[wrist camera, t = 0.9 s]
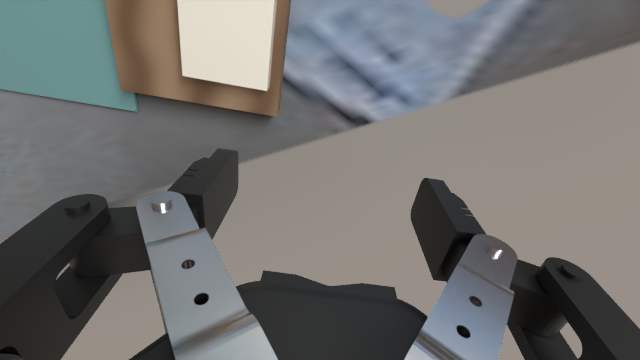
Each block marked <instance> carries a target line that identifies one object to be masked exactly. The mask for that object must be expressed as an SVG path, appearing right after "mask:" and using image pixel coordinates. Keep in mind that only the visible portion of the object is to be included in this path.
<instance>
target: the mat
mask: <svg viewBox="0 0 640 360" xmlns="http://www.w3.org/2000/svg"><path fill="white" fill-rule="evenodd" d="M0 89H3V90H9V91H15V92H21V93H27V94H33V95H39V96H45V97H51V98H57V99H63V100H69V101H75V102H81V103H87V104H93V105H99V106H105V107H111V108H118V109H124V110H130V111H136V112H137V111H138V104H137V98H136V93H135V92H129V91H123V90H121V88H120V83H119V77H118V71H117V66H116V60H115V55H114V49H113V44H112V38H111V33H110V27H109V22H108V16H107V11H106V5H105V0H0Z"/></svg>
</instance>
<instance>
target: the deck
mask: <svg viewBox="0 0 640 360" xmlns="http://www.w3.org/2000/svg"><path fill="white" fill-rule="evenodd" d="M290 4H291V0H277V5H276V17H275V28H274V40H273V52H272V64H271V76H270V87H269V89H268V90H267V91H264V90H258V89H253V88H247V87H241V86H236V85H230V84H225V83H219V82H214V81H208V80H202V79H197V78H191V77H186V76H182V62H181V48H180V33H179V19H178V4H177V0H105V5H106V11H107V16H108V22H109V27H110V33H111V38H112V44H113V49H114V55H115V60H116V66H117V71H118V77H119V83H120V88H121V90H123V91H129V92H135V93H141V94H147V95H153V96H158V97H164V98H170V99H176V100H182V101H188V102H193V103H199V104H205V105H211V106H217V107H223V108H228V109H234V110H240V111H246V112H252V113H258V114H263V115H269V116H275V117H277V114H278V112H279V108H280V98H281V89H282V80H283V70H284V61H285V51H286V42H287V33H288V23H289V14H290Z"/></svg>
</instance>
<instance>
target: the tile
mask: <svg viewBox="0 0 640 360" xmlns="http://www.w3.org/2000/svg"><path fill="white" fill-rule="evenodd" d="M177 4H178V19H179V33H180V48H181V62H182V76H186V77H191V78H197V79H202V80H208V81H214V82H219V83H225V84H230V85H236V86H241V87H247V88H253V89H258V90H264V91H267V90H268V89H269V87H270V76H271V64H272V52H273V40H274V28H275V17H276V5H277V0H177Z"/></svg>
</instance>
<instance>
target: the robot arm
mask: <svg viewBox="0 0 640 360" xmlns="http://www.w3.org/2000/svg"><path fill="white" fill-rule="evenodd" d="M237 189H238V152H237V151H236V150H229V149H222V148H218V149H217V150H216V151H215V152H214V153H213V155H212V156H211V157H210V158H205V157H204V158H202V159H200V160H198V161H196V162H194V163H193V164H192V165H191V166H190V167H189V168H188V170H186V171H185V172H184V173H183V176H181V177H180V178H179V179H178V180H177V181H176V182H175V183H174V184H173V185H172V186H171V187H170V188H169V189H168V190H167V191H162V192H155V193H152V194H149V195H147V196H145V197H143V198H142V199H140V200H139V201H138V203H137V205H136V207H121V208H109V207H108V204H107V201H106V199H105V198H104V197H102V196H99V195H94V194H83V195H76V196H72V197H68V198H65V199H63V200H61V201H59V202H57V203H55V204H54V205H52V206H51V207H49V208H48V209H47V210H45V211H44V212H43V213H41V214H40V215H39V216H37V217H36V218H35V219H33V220H32V221H31V222H29V223H28V224H27V225H25V226H24V227H23V228H21V229H20V230H19V231H17V232H16V233H15V234H13V235H12V236H11V237H9V238H8V239H6V240H5V241H4V242H2V243H1V244H0V360H60V359H61V358H62V357H63V355H64V354H65V352H66V351H67V350H68V348H69V347H70V346H71V344H72V343H73V342H74V340H75V339H76V337H77V336H78V335H79V333H80V332H81V330H82V329H83V328H84V326H85V325H86V324H87V322H88V321H89V320H90V318H91V317H92V315H93V314H94V312H95V311H96V310H97V309H98V307H99V306H100V304H101V303H102V302H103V300H104V299H105V297H106V296H107V295H108V293H109V292H110V291H111V289H112V288H113V286H114V285H115V284H116V282H117V281H118V280H119V278H120V277H121V275H122V274H123V273H129V272H136V271H145V270H150V271H151V275H152V279H153V283H154V287H155V291H156V295H157V299H158V303H159V307H160V311H161V316H162V320H163V324H164V328H165V333H166V334H164V335H163V336H162V337H160V338H159V339H157V340H156V341H155V342H153V343H152V344H150V345H149V346H147V347H146V348H145V349H144V350H142V351H140V352H139V353H138V354H137V355H135V356H133V357H132V358H131V359H129V360H498V356H499V353H500V349H501V345H502V341H503V337H504V333H505V329H506V325H508V327H509V329H510V331H511V333H512V335H513V337H514V339H515V341H516V343H517V345H518V347H519V349H520V351H521V353H522V355H523V357H524V359H525V360H640V329H639V328H638V327H637V326H636V324H635V323H634V322H633V321H632V320H631V319H630V318H629V317H628V316H627V315H626V314H625V313H624V311H623V310H622V309H621V308H620V307H619V306H618V305H617V304H616V303H615V302H614V300H613V299H612V298H611V297H610V296H609V295H608V294H607V293H606V292H605V291H604V290H603V289H602V287H601V286H600V285H599V284H598V283H597V282H596V281H595V280H594V279H593V278H592V277H591V276H590V275H589V274H588V273H587V272H585V271H584V270H583V269H581V268H580V267H578V266H576V265H575V264H573V263H571V262H568V261H566V260H563V259H560V258H553V257H551V258H547V259H546V260H545V261H544V263H543V264H542V265H541V267H539V266H536V265H533V264H530V263H527V262H524V261H521V260H518V259H517V258H518V257H517V254H516V253H515V251H514V250H513V249H512V248H511V247H510V246H509V245H508V244H506V243H505V242H503V241H502V240H500V239H498V238H496V237H493V236H490V235H486V233H485V232H484V230H483V229H482V228H481V226H480V225H479V223H478V222H477V220H476V219H475V217H473V214H472V213H471V212H470V210H468V207H467V206H466V204H465V203H464V202H463V200H461V199H460V198H459V197H458V196H456V195H455V194H454V193H451V191H450V190H449V188H448V187H447V186H446V184H445V182H444V181H442V180H437V179H429V178H424V179H423V180H422V182H421V184H420V187H419V190H418V193H417V195H416V198H415V201H414V203H413V206H412V209H411V221H412V224H413V227H414V230H415V232H416V235H417V237H418V240H419V243H420V245H421V248H422V251H423V253H424V256H425V259H426V261H427V264H428V267H429V269H430V272H431V275H432V277H433V280H439V281H446V282H447V284H446V286H445V288H444V289H443V291H442V293H441V295H440V297H439V299H438V300H437V302H436V304H435V306H434V307H433V309H432V311H431V313H430V315H429V317H427V316H426V315H425V314H424V313H422V312H421V311H419V310H418V309H417V308H415V307H414V306H412V305H410V304H408V303H406V302H404V301H402V300H399V299H397V296H396V292H395V288H394V287H387V286H379V285H372V284H363V283H361V284H350V285H340V286H327V285H324V284H321V283H318V282H315V281H312V280H310V279H307V278H304V277H301V276H298V275H294V274H286V273H279V272H271V271H263V274H262V277H261V281H255V282H250V283H245V284H242V285H239V286H236V287H235V285H234V283H233V281H232V279H231V277H230V275H229V273H228V271H227V269H226V267H225V265H224V263H223V261H222V259H221V257H220V255H219V253H218V251H217V249H216V247H215V245H214V243H213V241H212V239H213V237H214V235H215V233H216V232H217V229H218V228H219V226H220V224H221V222H222V220H223V219H224V217H225V215H226V213H227V211H228V209H229V207H230V205H231V204H232V202H233V200H234V198H235V196H236V193H237ZM68 263H69V264H70V266H69V267H68V268H67V269H66V270H65V271H64V272H63V273H62V274H61V275H60V277H59V278H58V279H57V280H56V278H57V276H58V274H59V273H60V271H61V270H62V269H63V268H64V267H65V266H66V265H67V264H68ZM55 280H56V281H55ZM567 322H568V323H569V324H570V325H571V327H572V328H573V330H574V331H575V332H576V334H577V335H578V337H579V339H580V341H581V343H582V348H583V349H582V355H581V357H580V358H579V359H577V357H576V356H575V354H574V353H573V351H572V350H571V348H570V347H569V345H568V344H567V342H566V341H565V339H564V338H563V336H562V334H561V333H560V330H561V329H562V328H563V327H564V325H565V324H566V323H567Z"/></svg>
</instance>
